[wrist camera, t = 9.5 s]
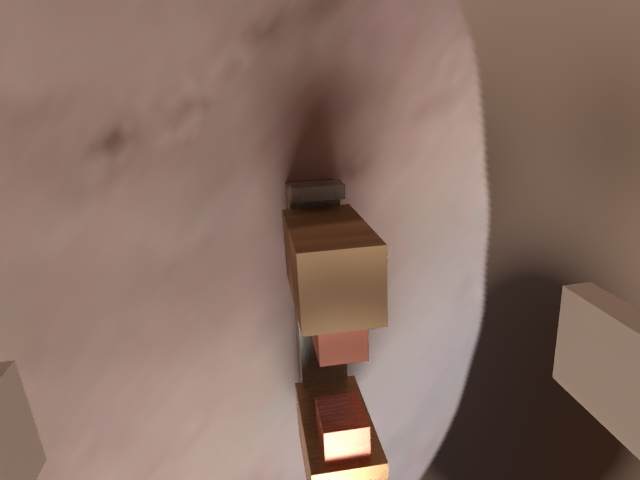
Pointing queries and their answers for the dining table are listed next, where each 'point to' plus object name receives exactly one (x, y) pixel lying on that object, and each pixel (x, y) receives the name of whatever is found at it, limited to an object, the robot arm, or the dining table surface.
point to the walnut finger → (336, 280)
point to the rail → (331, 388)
